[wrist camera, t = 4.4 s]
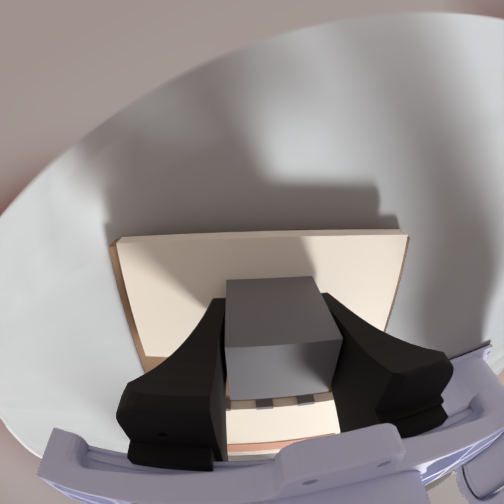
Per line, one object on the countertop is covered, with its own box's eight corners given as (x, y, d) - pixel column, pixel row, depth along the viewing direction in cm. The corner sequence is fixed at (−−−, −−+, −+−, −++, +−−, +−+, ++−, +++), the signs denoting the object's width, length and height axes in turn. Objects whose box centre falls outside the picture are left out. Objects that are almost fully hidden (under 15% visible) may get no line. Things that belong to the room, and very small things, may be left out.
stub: (375, 334, 16) (410, 395, 11) (148, 347, 15) (128, 418, 11) (399, 229, 13) (463, 277, 8) (121, 236, 12) (70, 296, 8)
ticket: (331, 438, 22) (333, 445, 22) (189, 448, 22) (188, 455, 21) (354, 385, 19) (358, 394, 18) (168, 397, 18) (166, 407, 17)
